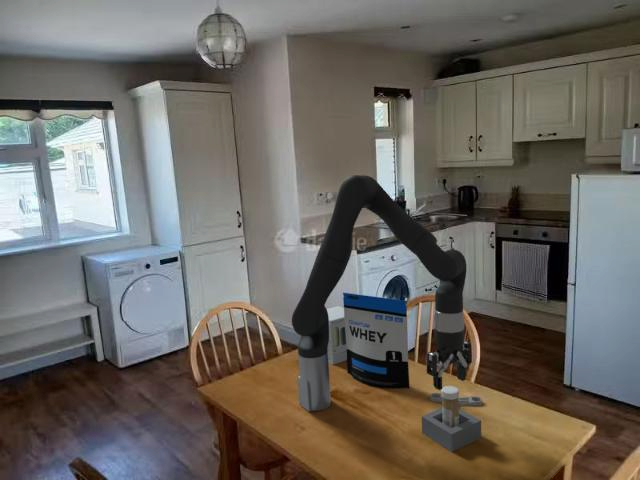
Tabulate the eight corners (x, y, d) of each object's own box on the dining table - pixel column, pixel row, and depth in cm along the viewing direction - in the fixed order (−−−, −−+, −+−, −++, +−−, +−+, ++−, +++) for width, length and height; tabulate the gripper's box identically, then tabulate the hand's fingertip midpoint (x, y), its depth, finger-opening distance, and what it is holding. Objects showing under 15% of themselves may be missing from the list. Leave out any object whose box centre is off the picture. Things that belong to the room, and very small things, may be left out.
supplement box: (332, 365, 181) (329, 320, 178) (313, 355, 192) (310, 312, 189) (360, 356, 188) (358, 312, 185) (340, 346, 199) (338, 305, 196)
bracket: (436, 387, 156) (483, 396, 148) (437, 392, 157) (483, 402, 148) (427, 397, 150) (476, 408, 142) (428, 403, 151) (476, 414, 142)
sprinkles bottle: (462, 438, 130) (462, 391, 128) (447, 441, 129) (446, 394, 127) (454, 429, 134) (453, 384, 132) (439, 432, 134) (438, 386, 131)
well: (451, 452, 124) (451, 434, 123) (422, 433, 134) (421, 416, 133) (481, 437, 130) (481, 420, 129) (450, 420, 139) (450, 404, 138)
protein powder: (354, 368, 178) (350, 289, 173) (415, 382, 163) (412, 297, 158) (340, 378, 170) (335, 296, 165) (403, 394, 156) (399, 305, 151)
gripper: (457, 317, 133) (458, 372, 136) (418, 328, 126) (420, 386, 129) (479, 324, 127) (479, 381, 130) (439, 336, 120) (440, 397, 122)
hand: (449, 384), depth 129 cm, fingers open, 8 cm apart
